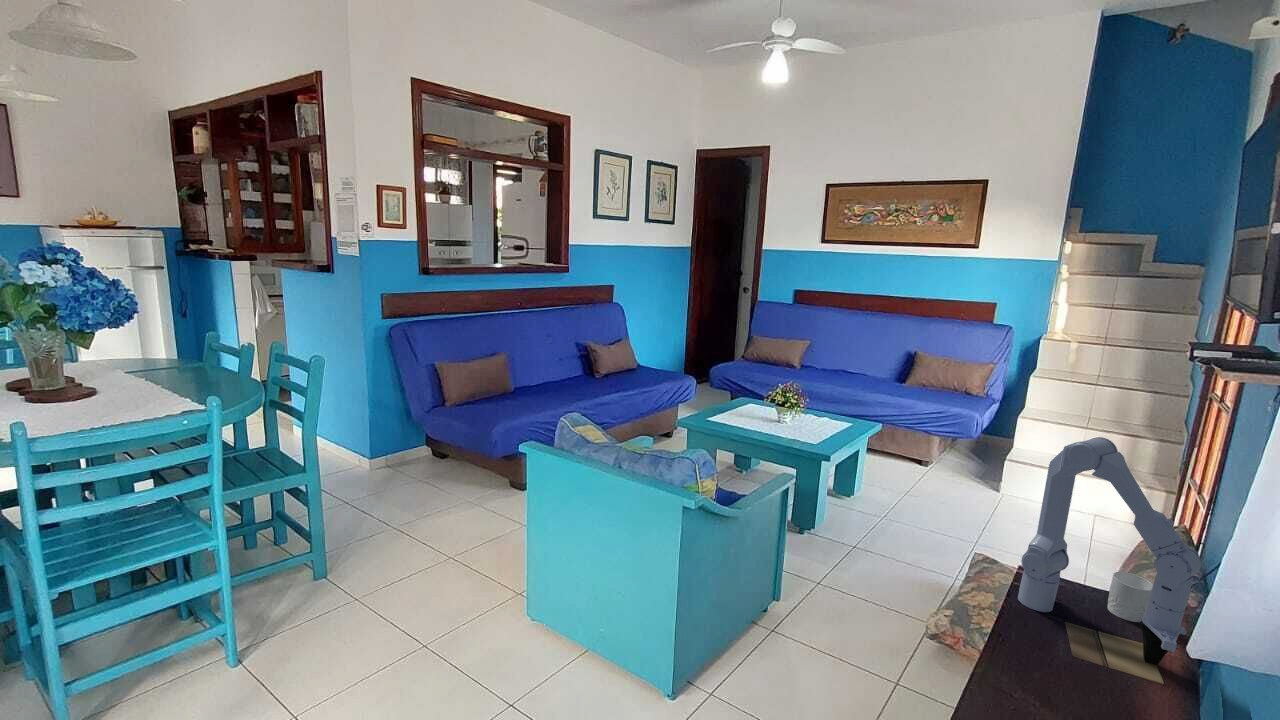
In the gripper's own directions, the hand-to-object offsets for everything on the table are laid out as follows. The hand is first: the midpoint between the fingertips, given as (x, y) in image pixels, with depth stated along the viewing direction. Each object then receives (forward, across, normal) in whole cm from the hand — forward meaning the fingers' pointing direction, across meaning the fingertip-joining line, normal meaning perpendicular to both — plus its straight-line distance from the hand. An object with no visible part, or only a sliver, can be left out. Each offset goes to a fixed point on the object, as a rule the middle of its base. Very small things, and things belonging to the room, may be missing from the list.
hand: (1150, 662), depth 133 cm
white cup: (+2, +20, +1) cm, 20 cm away
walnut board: (+2, 0, +11) cm, 12 cm away
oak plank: (+2, 0, +4) cm, 4 cm away
